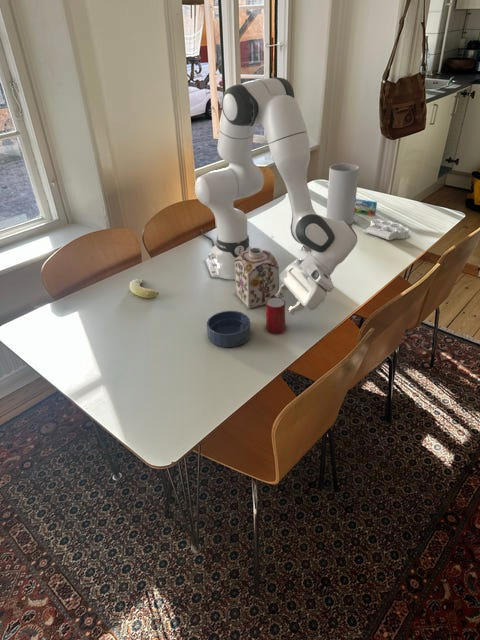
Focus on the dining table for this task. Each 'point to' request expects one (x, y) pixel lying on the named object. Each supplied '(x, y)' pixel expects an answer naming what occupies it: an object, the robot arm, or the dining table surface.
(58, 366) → the dining table surface
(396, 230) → the egg carton
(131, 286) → the fruit
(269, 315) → the can
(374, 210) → the colorful printed box
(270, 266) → the decorative jar
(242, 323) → the bowl
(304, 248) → the pink antlered figurine
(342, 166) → the cylinder vase
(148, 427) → the dining table surface
